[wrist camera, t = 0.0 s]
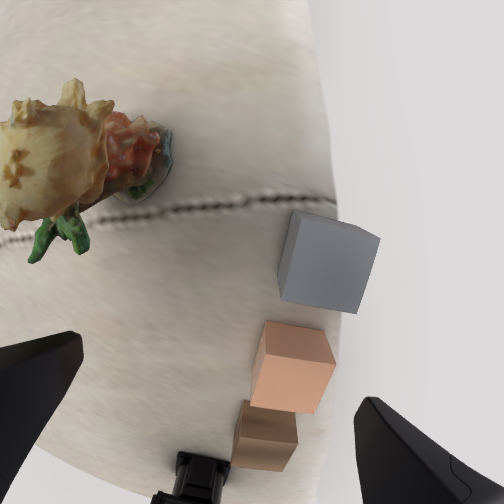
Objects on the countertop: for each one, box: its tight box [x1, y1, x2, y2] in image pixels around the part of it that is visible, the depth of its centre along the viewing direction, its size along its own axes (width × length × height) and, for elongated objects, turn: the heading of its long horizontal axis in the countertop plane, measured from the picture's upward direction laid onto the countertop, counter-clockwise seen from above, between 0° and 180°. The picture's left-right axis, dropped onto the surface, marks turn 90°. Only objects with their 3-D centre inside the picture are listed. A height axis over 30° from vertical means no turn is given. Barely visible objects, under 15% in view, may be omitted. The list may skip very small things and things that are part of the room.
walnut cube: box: [230, 400, 298, 472], centre depth 24 cm, size 5×5×5 cm
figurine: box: [0, 78, 172, 264], centre depth 13 cm, size 9×8×15 cm
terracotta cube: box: [250, 321, 336, 414], centre depth 21 cm, size 5×5×5 cm
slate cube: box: [277, 210, 380, 314], centre depth 19 cm, size 5×5×5 cm
